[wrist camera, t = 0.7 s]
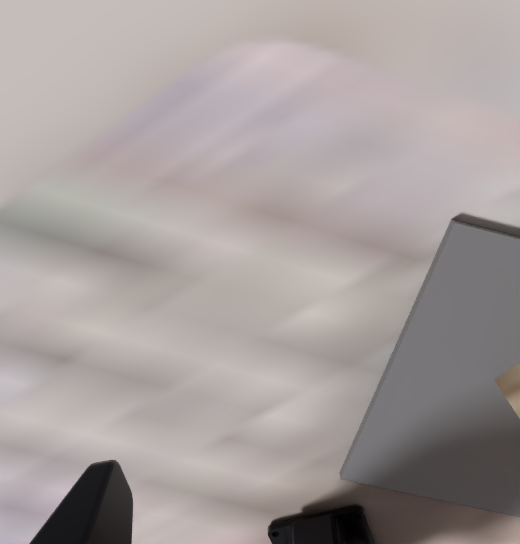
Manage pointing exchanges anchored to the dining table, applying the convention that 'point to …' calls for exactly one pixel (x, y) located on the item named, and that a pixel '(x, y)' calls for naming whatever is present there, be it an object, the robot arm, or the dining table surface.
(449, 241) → the mat
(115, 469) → the robot arm
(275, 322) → the dining table surface
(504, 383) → the beige wooden cube
